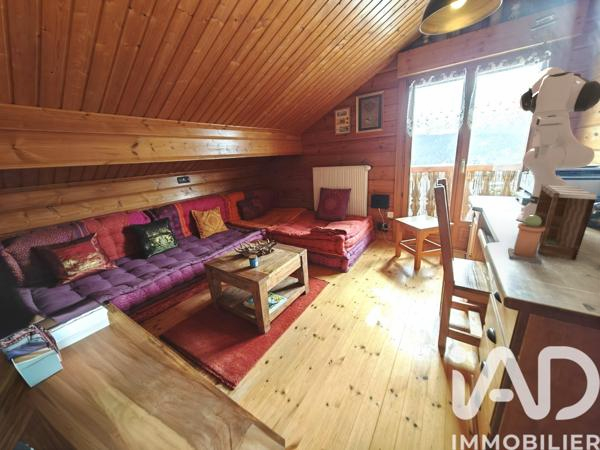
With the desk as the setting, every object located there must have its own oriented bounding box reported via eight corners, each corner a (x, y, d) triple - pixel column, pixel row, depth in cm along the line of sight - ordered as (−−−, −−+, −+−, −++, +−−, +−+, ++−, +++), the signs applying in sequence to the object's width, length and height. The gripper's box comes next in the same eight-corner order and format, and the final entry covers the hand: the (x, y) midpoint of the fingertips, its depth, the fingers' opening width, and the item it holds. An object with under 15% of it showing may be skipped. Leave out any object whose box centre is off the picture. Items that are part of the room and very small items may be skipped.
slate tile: (507, 250, 94) (508, 247, 94) (537, 254, 89) (537, 252, 89) (509, 258, 87) (510, 255, 87) (541, 263, 82) (541, 261, 82)
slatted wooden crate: (528, 235, 109) (541, 184, 102) (559, 239, 103) (575, 185, 96) (537, 254, 90) (554, 192, 83) (575, 260, 84) (597, 194, 77)
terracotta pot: (510, 248, 93) (520, 211, 88) (534, 252, 89) (546, 214, 84) (512, 255, 87) (522, 216, 83) (538, 259, 83) (550, 218, 79)
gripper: (531, 124, 99) (524, 158, 103) (541, 119, 84) (531, 159, 87) (553, 122, 96) (544, 158, 99) (567, 117, 80) (556, 159, 84)
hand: (538, 158), depth 93 cm, fingers open, 8 cm apart
